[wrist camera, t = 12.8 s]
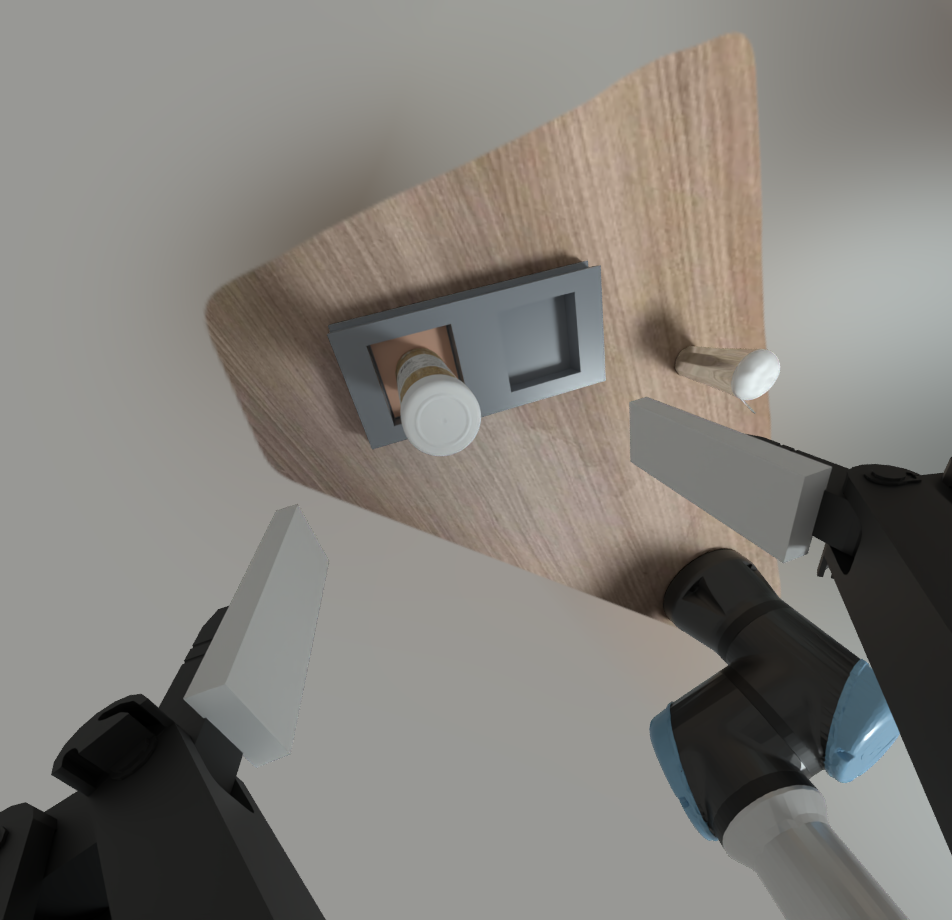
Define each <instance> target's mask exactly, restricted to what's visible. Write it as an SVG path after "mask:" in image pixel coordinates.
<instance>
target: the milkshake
mask: <svg viewBox="0 0 952 920" xmlns="http://www.w3.org/2000/svg"><path fill="white" fill-rule="evenodd" d="M675 370H676V371H677V372H678V374H679V375H681V376H683V377H686V378H688V379H691V380H694V381H696V382H699V383H702V384H704V385H707V386H710V387H712V388H715V389H718V390H720V391H722V392H725V393H727V394H730V395H732V396H734V397H737V398H739V399H740V400H741V401H742V402H743V403H744V404H745V405H746V406H747V407H748V408H749V409H750V410H751V411H752V412H753V413H755V412H754V411H753V410H752V409H751V408H750V407H749V406H748V405H747V404H746V402H745V401H744V400H752V399H755V398H757V397H759V396H761V395H763V394H764V393H766V392H767V391H768V390H769V389H770V388H771V387H772V386H773V384H774V382H775V381H776V379H777V377H778V375H779V372H780V362H779V359H778V357H777V356H776V355H775V354H774V353H773V352H772V351H770V350H766V349H742V348H713V347H698V346H688V347H686V348H685V349H683V350H682V351H681V352H680V353H679V355H678V357H677V358H676V361H675Z"/></svg>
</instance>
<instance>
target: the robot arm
mask: <svg viewBox="0 0 952 920" xmlns="http://www.w3.org/2000/svg"><path fill="white" fill-rule="evenodd" d="M629 403H630V459H631V462H632V463H633V464H635V465H636V466H638V467H639V468H641V469H642V470H644V471H645V472H647V473H648V474H650V475H651V476H653V477H654V478H656V479H657V480H659V481H660V482H662V483H663V484H665V485H666V486H668V487H669V488H671V489H672V490H674V491H675V492H677V493H678V494H680V495H681V496H683V497H684V498H686V499H687V500H689V501H690V502H692V503H694V504H695V505H697V506H698V507H700V508H701V509H703V510H704V511H706V512H707V513H709V514H710V515H712V516H713V517H715V518H716V519H718V520H719V521H721V522H722V523H724V524H725V525H727V526H728V527H730V528H731V529H733V530H734V531H736V532H737V533H739V534H740V535H742V536H743V537H745V538H746V539H748V540H749V541H751V542H752V543H754V544H755V545H757V546H758V547H760V548H761V549H763V550H764V551H766V552H767V553H769V554H770V555H772V556H773V557H775V558H776V559H778V560H779V561H781V562H782V563H785V562H788V561H791V560H793V559H796V558H798V557H801V556H804V555H806V554H807V553H808V551H809V547H810V543H811V540H812V536H814V537H816V538H818V539H820V540H821V541H823V542H825V547H824V550H823V553H822V557H821V560H820V563H819V566H818V569H817V576H819V577H823V575H824V572H825V570H826V569H827V568H829V569H830V571H831V573H832V575H831V578H833V579H834V580H835V583H836V585H837V587H838V590H839V592H840V594H841V597H842V599H843V601H844V604H845V606H846V608H847V611H848V613H849V615H850V618H851V620H852V622H853V625H854V627H855V629H856V632H857V634H858V637H859V639H860V641H861V644H862V646H863V648H864V651H865V653H866V655H867V658H868V660H869V662H870V665H871V667H872V668H871V667H870V666H869V664H868V663H867V662H866V661H864V660H863V659H860V658H858V657H857V656H856V655H854V654H853V653H852V652H850V651H849V650H848V649H846V648H845V647H844V646H842V645H841V644H840V643H838V642H837V641H836V640H834V639H833V638H832V637H830V636H829V635H827V634H826V633H825V632H824V631H822V630H821V629H820V628H818V627H817V626H816V625H814V624H813V623H812V622H810V621H809V620H808V619H806V618H805V617H804V616H802V615H801V614H800V613H798V612H797V611H796V610H794V609H793V608H792V607H790V606H789V605H788V604H786V603H785V602H784V601H783V600H781V599H780V598H779V597H778V595H777V594H776V593H775V591H774V590H773V589H772V588H771V586H770V585H769V584H768V582H767V581H766V580H765V578H764V577H763V576H762V575H761V573H760V572H759V571H758V570H757V568H756V567H755V565H754V564H753V563H752V562H751V561H749V560H748V559H747V558H745V557H744V556H742V555H741V554H740V553H738V552H736V551H734V550H729V549H723V550H716V551H713V552H710V553H707V554H705V555H703V556H701V557H699V558H697V559H696V560H694V561H692V562H691V563H690V564H688V565H687V566H686V567H685V568H684V569H683V570H682V571H681V572H680V573H679V574H678V575H677V576H676V577H675V578H674V580H673V581H672V582H671V584H670V586H669V587H668V589H667V591H666V594H665V597H664V603H663V606H664V611H665V613H666V615H667V616H668V617H669V619H670V620H671V621H672V622H673V623H674V624H675V625H676V626H677V627H678V628H679V629H681V630H682V631H684V632H686V633H687V634H689V635H690V636H692V637H693V638H695V639H696V640H698V641H699V642H701V643H703V644H704V645H706V646H707V647H709V648H711V649H712V650H714V651H715V652H716V653H717V654H718V655H719V656H720V657H721V658H722V659H723V660H724V661H725V662H726V663H727V664H728V666H727V667H725V668H724V669H722V670H721V671H719V672H718V673H716V674H715V675H713V676H712V677H710V678H709V679H707V680H706V681H704V682H703V683H701V684H700V685H699V686H697V687H695V688H694V689H692V690H691V691H690V692H688V693H687V694H685V695H684V696H682V697H681V698H679V699H678V700H676V701H675V702H671V703H669V704H668V706H667V708H666V709H664V710H663V711H662V712H660V713H659V714H658V715H656V716H655V717H654V718H653V719H652V721H651V723H650V738H651V742H652V745H653V748H654V750H655V753H656V756H657V758H658V761H659V763H660V765H661V767H662V770H663V772H664V774H665V776H666V778H667V780H668V782H669V784H670V786H671V788H672V790H673V792H674V793H675V795H676V797H678V799H679V800H680V803H681V805H682V807H683V809H684V811H685V812H686V814H687V816H688V818H689V819H690V821H691V822H692V824H693V825H694V827H695V828H696V829H697V830H698V832H699V833H700V834H701V835H702V836H703V837H704V838H705V839H707V840H709V841H710V840H713V841H718V840H719V841H720V843H721V845H722V846H723V848H724V849H725V851H726V853H727V854H728V856H729V857H731V858H732V859H734V860H735V861H737V862H739V863H741V864H743V865H745V866H747V867H749V868H751V869H753V870H754V871H755V872H756V873H757V875H758V876H759V878H760V879H761V881H762V882H763V884H764V885H765V887H766V889H767V890H768V892H769V894H770V895H771V897H772V898H773V900H774V901H775V903H776V904H777V906H778V908H779V909H780V911H781V912H782V914H783V915H784V917H785V919H786V920H909V919H908V918H907V916H906V915H905V914H904V913H903V912H902V910H901V909H900V908H899V907H898V906H897V905H896V903H895V902H894V901H893V900H892V899H891V898H890V896H889V895H888V894H887V893H886V892H885V891H884V889H883V888H882V887H881V886H880V885H879V883H878V882H877V881H876V880H875V879H874V878H873V877H872V875H871V874H870V873H869V872H868V871H867V869H866V868H865V867H864V866H863V865H862V864H861V862H860V861H859V860H858V859H857V858H856V856H855V855H854V854H853V853H852V852H851V851H850V849H849V848H848V847H847V846H846V845H845V844H844V842H843V841H842V840H841V839H840V838H839V836H838V835H837V834H836V833H835V832H834V831H833V829H832V828H831V826H830V825H829V822H828V814H827V805H826V801H825V798H824V796H823V795H822V794H821V793H820V792H819V791H818V789H817V788H816V787H815V786H814V785H813V784H812V783H811V782H810V780H809V779H810V778H811V777H812V776H814V775H815V774H817V773H818V772H820V771H821V770H826V772H827V773H828V774H829V775H830V776H831V777H833V778H835V779H836V780H837V781H839V782H842V783H847V782H851V781H852V780H853V779H854V778H856V777H857V776H860V775H862V774H863V773H865V772H866V771H867V770H868V769H869V768H870V767H872V766H873V765H874V764H875V763H876V762H877V761H878V760H879V759H880V758H881V757H882V756H883V754H884V753H885V752H886V751H887V750H888V749H889V748H890V746H891V745H892V744H893V743H894V741H895V740H896V739H897V737H898V736H899V734H900V735H901V737H902V740H903V742H904V744H905V747H906V749H907V751H908V754H909V756H910V758H911V760H912V763H913V765H914V767H915V770H916V772H917V775H918V777H919V779H920V782H921V784H922V786H923V789H924V791H925V793H926V796H927V798H928V801H929V803H930V805H931V807H932V810H933V812H934V815H935V817H936V819H937V822H938V824H939V826H940V829H941V831H942V833H943V836H944V838H945V840H946V843H947V845H948V847H949V850H950V852H951V854H952V457H951V458H950V460H949V462H948V464H947V466H946V469H945V471H944V473H937V474H928V475H919V474H917V473H915V472H912V471H910V470H907V469H904V468H899V467H895V466H890V465H879V464H869V465H868V464H867V465H859V466H855V467H852V468H851V469H848V468H845V467H843V466H840V465H837V464H834V463H831V462H829V461H826V460H824V459H821V458H818V457H815V456H813V455H810V454H807V453H804V452H802V451H799V450H796V451H795V450H794V448H791V447H788V446H785V445H780V443H777V442H775V441H772V440H769V439H767V438H764V437H759V436H754V435H748V434H744V433H741V432H738V431H736V430H733V429H731V428H728V427H725V426H723V425H720V424H717V423H715V422H712V421H709V420H707V419H704V418H701V417H699V416H696V415H694V414H691V413H688V412H686V411H683V410H680V409H678V408H675V407H672V406H670V405H667V404H664V403H662V402H659V401H657V400H654V399H651V398H649V397H644V398H641V399H638V400H635V401H631V402H629ZM328 564H329V560H328V558H327V556H326V554H325V552H324V551H323V549H322V547H321V545H320V544H319V542H318V540H317V538H316V536H315V534H314V532H313V531H312V529H311V527H310V525H309V523H308V521H307V520H306V518H305V516H304V514H303V512H302V511H301V509H300V507H299V505H298V504H297V505H293V506H290V507H287V508H284V509H281V510H277V511H276V512H275V514H274V516H273V518H272V520H271V522H270V524H269V526H268V529H267V530H266V533H265V534H264V537H263V538H262V541H261V543H260V545H259V547H258V549H257V551H256V553H255V555H254V557H253V559H252V561H251V563H250V565H249V567H248V569H247V571H246V573H245V575H244V577H243V579H242V581H241V583H240V585H239V587H238V589H237V591H236V593H235V595H234V597H233V599H232V601H231V603H230V605H229V606H227V607H224V608H221V609H218V610H217V612H216V613H215V614H214V615H213V616H212V617H211V618H210V619H209V620H208V621H207V623H206V624H205V625H204V626H203V627H202V629H201V631H200V632H199V634H198V637H197V638H196V640H195V642H194V643H193V648H192V649H190V651H189V653H188V655H187V656H186V659H185V660H184V661H185V664H182V666H181V667H180V669H179V671H178V673H177V675H176V677H175V679H174V680H173V682H172V684H171V686H170V688H169V690H168V692H167V693H166V695H165V697H164V699H163V701H162V703H161V704H160V706H159V708H158V707H157V706H156V705H154V703H152V702H151V701H150V700H149V699H148V698H146V697H145V696H144V695H142V694H137V695H129V696H127V697H125V698H122V699H120V700H118V701H115V702H114V703H112V704H110V705H109V706H108V707H106V708H104V709H103V710H101V711H100V712H98V713H97V714H96V715H94V716H93V717H92V718H91V719H90V720H89V721H88V722H86V723H85V724H84V725H83V726H82V727H81V728H79V730H78V731H77V732H76V733H75V734H74V735H73V736H72V737H71V738H70V740H69V741H68V742H67V743H66V744H65V745H64V747H63V748H62V750H61V752H60V753H59V755H58V756H57V758H56V760H55V761H54V765H53V769H52V774H51V775H52V776H54V777H56V778H58V779H59V780H61V781H62V782H64V783H66V784H67V785H69V786H71V787H72V788H74V789H76V790H77V792H75V793H74V794H72V795H71V796H69V797H67V798H66V799H64V800H63V801H61V802H60V803H58V804H56V805H55V806H53V807H52V808H50V809H48V810H47V811H45V812H43V811H41V810H39V809H37V808H35V807H33V806H31V805H30V804H28V803H21V804H18V805H14V806H11V807H9V808H7V809H5V810H4V811H2V812H0V920H326V919H325V918H324V916H323V914H322V913H321V911H320V909H319V908H318V906H317V905H316V903H315V901H314V899H313V898H312V896H311V895H310V893H309V891H308V889H307V888H306V886H305V885H304V883H303V881H302V879H301V878H300V876H299V874H298V873H297V871H296V870H295V868H294V866H293V865H292V863H291V862H290V859H289V858H288V856H287V854H286V853H285V852H284V849H283V848H282V846H281V844H280V843H279V841H278V840H277V838H276V837H275V834H274V833H273V831H272V829H271V828H270V826H269V824H268V823H267V821H266V819H265V818H264V816H263V815H262V813H261V811H260V810H259V808H258V806H257V804H256V803H255V801H254V800H253V798H252V796H251V794H250V793H249V791H248V789H247V788H246V786H245V785H244V783H243V782H242V781H241V780H240V779H239V778H238V777H237V776H236V775H237V772H238V768H239V765H240V762H241V759H242V755H243V756H244V757H245V758H246V759H247V760H248V761H249V762H250V763H251V764H252V765H253V766H255V767H256V768H257V767H259V766H262V765H265V764H267V763H270V762H272V761H275V760H278V759H280V758H283V757H285V756H288V755H290V754H291V749H292V744H293V740H294V735H295V730H296V724H297V719H298V714H299V710H300V704H301V699H302V694H303V690H304V684H305V679H306V675H307V670H308V664H309V659H310V654H311V649H312V644H313V639H314V634H315V629H316V624H317V619H318V614H319V609H320V604H321V599H322V594H323V589H324V584H325V579H326V574H327V569H328Z"/></svg>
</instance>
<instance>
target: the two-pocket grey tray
mask: <svg viewBox="0 0 952 920" xmlns="http://www.w3.org/2000/svg"><path fill="white" fill-rule="evenodd" d="M328 327H329V330H330V333H328V334H327V336H328V338H329V341H330V343H331V346H332V348H333V351H334V353H335V356H336V359H337V361H338V364H339V366H340V369H341V371H342V374H343V376H344V379H345V381H346V384H347V387H348V389H349V392H350V394H351V397H352V399H353V402H354V404H355V407H356V410H357V412H358V415H359V417H360V420H361V422H362V425H363V427H364V430H365V432H366V435H367V438H368V440H369V443H370V445H371V448H372V449H375V448H379V447H382V446H385V445H389V444H392V443H396V442H399V441H402V440H406V439H408V438H407V437H406V435H405V433H404V430H403V426H402V422H401V415H400V408H401V405H400V400H399V394H398V387H397V381H396V375H395V371H396V366H397V363H398V361H399V360H400V358H401V357H402V356H403V355H404V354H405V353H406V352H408V351H410V350H412V349H416V348H426V349H429V350H432V351H433V352H435V353H436V354H437V355H438V356H439V357H440V358H441V359H442V361H443V362H444V363H445V365H446V366H447V367H448V368H449V369H450V371H451V372H452V373H453V374H454V375H455V376H456V378H457V379H459V380H460V381H462V382H463V383H464V384H465V385H466V386H467V387H468V388H469V389H470V390H471V392H472V393H473V394H474V396H475V397H476V399H477V401H478V403H479V406H480V411H481V417H484V416H487V415H490V414H494V413H497V412H501V411H504V410H507V409H511V408H514V407H518V406H521V405H524V404H528V403H531V402H534V401H538V400H541V399H545V398H548V397H551V396H555V395H558V394H562V393H565V392H568V391H572V390H575V389H579V388H582V387H585V386H589V385H592V384H595V383H599V382H602V381H606V378H605V355H604V333H603V311H602V288H601V266H592V267H588V261H583V262H579V263H575V264H571V265H567V266H563V267H559V268H555V269H551V270H547V271H543V272H539V273H535V274H531V275H527V276H523V277H519V278H515V279H511V280H507V281H503V282H499V283H495V284H491V285H487V286H483V287H479V288H475V289H471V290H467V291H463V292H459V293H455V294H451V295H447V296H443V297H439V298H435V299H431V300H427V301H423V302H419V303H415V304H411V305H407V306H403V307H399V308H394V309H390V310H386V311H382V312H378V313H374V314H370V315H366V316H362V317H358V318H354V319H350V320H346V321H342V322H338V323H334V324H330V325H328Z"/></svg>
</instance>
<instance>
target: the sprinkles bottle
mask: <svg viewBox="0 0 952 920" xmlns="http://www.w3.org/2000/svg"><path fill="white" fill-rule="evenodd" d="M395 375H396V381H397V387H398V394H399V400H400V405H401V408H400V415H401V422H402V426H403V430H404V433H405V435H406V437H407V438H408V440H409V441H410V443H411V444H412V445H413V446H414V447H415V448H417V449H418V450H420V451H421V452H423V453H426V454H428V455H432V456H448V455H452V454H455V453H457V452H460V451H461V450H463V449H464V448H466V447H467V446H468V445H469V444H470V443H471V442H472V441H473V439H474V438H475V436H476V435H477V433H478V430H479V427H480V422H481V411H480V406H479V403H478V401H477V399H476V397H475V396H474V394H473V393H472V392H471V390H470V389H469V388H468V387H467V386H466V385H465V384H464V383H463V382H462V381H460V380H459V379H457V378H456V376H455V375H454V374H453V373H452V372H451V371H450V369H449V368H448V367H447V366H446V365H445V363H444V362H443V361H442V359H441V358H440V357H439V356H438V355H437V354H436V353H435V352H433V351H432V350H429V349H426V348H416V349H412V350H410V351H408V352H406V353H405V354H404V355H403V356H402V357H401V358H400V360H399V361H398V363H397V366H396V371H395Z"/></svg>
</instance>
